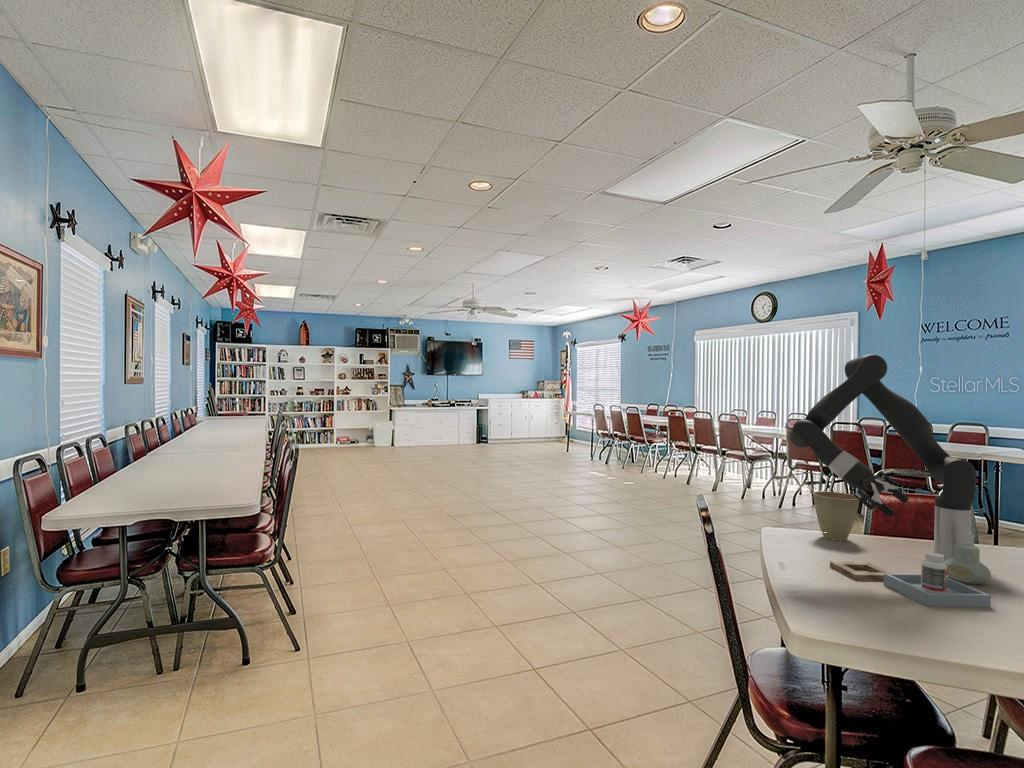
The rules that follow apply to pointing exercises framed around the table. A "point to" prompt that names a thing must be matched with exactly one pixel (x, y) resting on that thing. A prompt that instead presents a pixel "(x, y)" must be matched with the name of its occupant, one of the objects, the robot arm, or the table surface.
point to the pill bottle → (934, 573)
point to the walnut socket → (850, 568)
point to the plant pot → (835, 513)
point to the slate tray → (952, 598)
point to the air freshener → (967, 565)
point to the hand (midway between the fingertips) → (900, 508)
